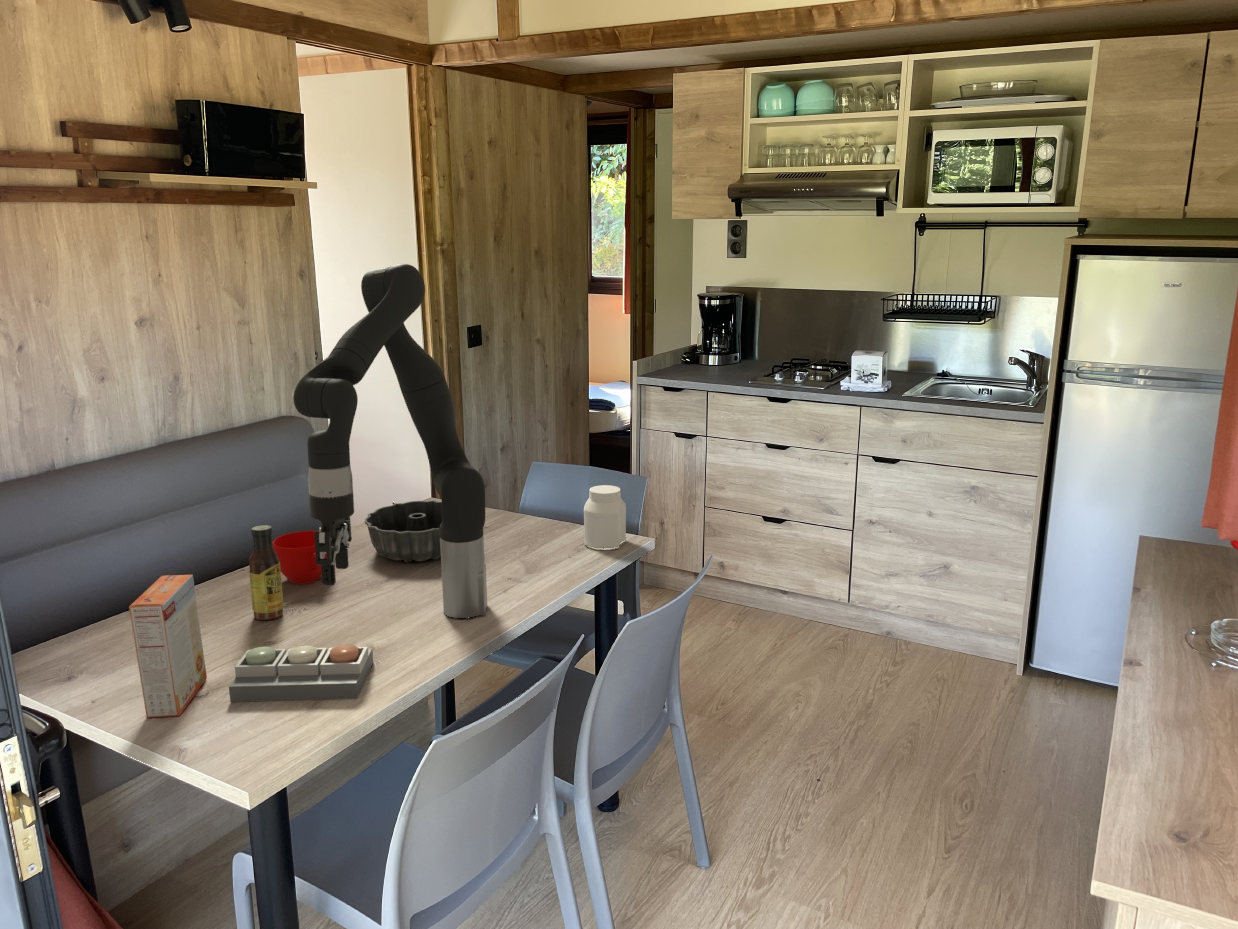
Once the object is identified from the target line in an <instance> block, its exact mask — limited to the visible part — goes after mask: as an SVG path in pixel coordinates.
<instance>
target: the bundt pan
mask: <svg viewBox="0 0 1238 929" xmlns="http://www.w3.org/2000/svg"><path fill="white" fill-rule="evenodd" d="M441 523H442V501H437V500H433V499H431V500H411V501H406V502H402V503H401V502H399V503H398V502H397V503H396V502H395V503H394V504H391V505H385V506H382V507H380V508H376V509H375V510H374V511H373V512H370V513H367V516H366V518H364V524H365V525H366V526H367V530H368V533H369V538H370V541H371V545H372V547H373V548H374V550H375V552H376V553H378V555H379V556H380V557H383V558H385V559H386V558H387V559H390V560H392V561H402V560H403V561H404V563H410V562H412V561H413V560H414V561H417V562H426V561H427V560H429V559H432V560H434V559H435V560H434V561H436V560H438V559H440V558H441V550H440V531H439V527H440V524H441Z"/></svg>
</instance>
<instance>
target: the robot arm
mask: <svg viewBox="0 0 1238 929" xmlns="http://www.w3.org/2000/svg"><path fill="white" fill-rule="evenodd" d="M420 272H421V271H419V269H417V267H415V266H414V265H411V264H409V263H398V264H394V265H389V266H385V267H381V268H377V269H372V270H369V271H367V272H366V273H364V275H363V277H362V279H361V283H360V284H361V285H360V288H361V295H362V298H363V302H364V305H365V307H366V309H367V312H368V313H367V314H366V315H364V316H363V317H362V318H361V319H359V320H358V321H356V323H354V324H353V325H352V326H351V327H350V328H348V329H347V330H346V331H345V332H344V333H343V334H342V336H341V337H340V338H339V340H338V341H337V343H336V344H335V346H334V348H332V350H331V351H330V353H329V355H328V356H326V358H325V359H323V360H321V361H320V362H318V363H317V364H316V365H315V366H314V367H313V368H312V369H310V370H309V371H308V372H306V373H305V374H304V375H303V376H302V377H301V379H300V380H299V381H298V382H297V384H296V387H295V390H294V392H293V405H294V408H295V409H296V410H297V412H298V413H299V414H301V416H304V417H307V418H315V419H326V420H327V419H328V420H329V424H328V427H327V429H324V430H318V431H315V432H313V433H310V434H309V436H307V457H308V458H307V459H308V460H307V461H308V475H307V486H308V501H309V515H310V517H311V518H312V519H313V520H318V521H319V522H320V523H321V524H320V527H319V529H318V531H319V532H315V535H314V536H315V555H316V565H321V572H322V575H321V584H322V585H323V586H334V585H335V584H336V582H337V580H336V579H337V578H336V569H338V570H345V569H346V570H347V569H348V568H349V566H350V565H349V564H350V563H349V550H348V549H349V548H350V542H352V541H353V540H352V539H353V538H352V526H351V525H352V524H351V517H352V516H353V515H354V513H355V503H354V502H355V501H354V482H353V480H354V479H353V474H352V473H353V472H352V468H351V457H350V456H351V454H350V453H351V452H350V450H351V449H350V442H351V435H352V430H353V424H354V419H355V416H356V412H357V407H358V394H357V390H356V388H355V385H357V384H359V383H360V382H361V381H362V379H364V377H365V375H366V374H367V372H368V371H369V369H370V367H371V366H372V364H373V363H374V360H375V359H376V358H377V356H378V355H379V353H380V351H381V350H382V349H383V347H384V348H385V350H386V353H387V356H388V358H389V360H390V364H391V366H392V369H393V370H394V374H395V376H396V379H397V382H398V385H399V386H398V387H399V390H400V391H401V395H402V397H403V400H404V403H405V405H406V408H407V410H408V413H409V415H410V417H411V420H412V422H413V425H414V427H415V429H416V431H417V433H418V435H419V437H420V439H421V442H422V443H423V447H424V450H425V452H426V457H427V459H428V462H429V463H428V464H429V467H430V473H431V476H432V481H433V486H434V488H435V489H434V490H436V493H437V494H438V495H439V497H440V498H441V499H440V501H441V502H442V523H441V524H440V527H439V531H440V550H441V556H440V566H441V568H440V569H441V585H442V586H441V587H442V606H443V613H444V615H445V616H446V615H447V617H448V616H449V618H451V617H453V618H452V619H457V618H466V619H469V618H468V617H473V616H476V617H479V616H478V615H481V616H486V613H487V609H486V608H488V588H487V585H488V584H487V566H486V564H485V543H484V542H485V541H484V526H485V524H486V487H485V481H484V478H483V476H482V474H480V472H479V471H478V470H477V469H475V468H474V467H473V466H472V465H471V463H470V462H469V459H468V458H467V455H466V454H465V452H464V449H463V447H462V444H461V442H460V439H459V437H458V432H457V427H456V426H457V425H456V416H455V409H454V402H453V398H452V394H451V392H450V388H449V385H448V382H447V380H446V376H445V374H444V372H443V370H442V367H441V366H440V365H439V364H438V362H437V361H436V360H435V359H434V358H433V357H432V356H431V355H430V354H429V353H428V352H427V351H426V350H425V349H424V348H423V347H422V346H421V345H420V344H418V342H417V341H416V340H415V339H414V338H413V337H412V335H411V334H410V332H409V331H408V329H407V327H406V325H405V322H406V321H407V320H408V319H409V318H410V316H412V314H414V313H415V312H416V311H417V309H418V308H420V306H421V305H422V303H423V301H424V298H425V296H426V295H425V294H426V284H425V281H424V278H423V276H422V273H420ZM326 553H327V558H324V557H325V554H326ZM485 612H486V613H485ZM473 618H474V617H473Z"/></svg>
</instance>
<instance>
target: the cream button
mask: <svg viewBox="0 0 1238 929" xmlns="http://www.w3.org/2000/svg"><path fill="white" fill-rule="evenodd" d="M316 648H317V647H316V646H314V645H300V646H295V647H293V648H290V649H291V650H290V651H289V652H288V661H289V663H290V664H309V663H312V662H314V661H315V660H316V659H317V649H316Z"/></svg>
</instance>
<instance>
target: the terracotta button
mask: <svg viewBox="0 0 1238 929" xmlns="http://www.w3.org/2000/svg"><path fill="white" fill-rule="evenodd" d="M358 647H359V646H356V645H353V644H341V645H337V646H334V647H331V648H332V649H331V650H330V661H331V662H332V663H348V662H354V661H355V660H357V659H358V657H359V654H358Z"/></svg>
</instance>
